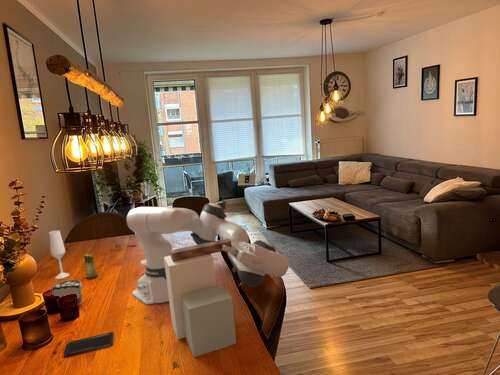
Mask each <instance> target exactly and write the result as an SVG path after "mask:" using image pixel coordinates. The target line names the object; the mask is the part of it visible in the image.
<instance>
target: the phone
mask: <svg viewBox="0 0 500 375" xmlns="http://www.w3.org/2000/svg"><path fill="white" fill-rule="evenodd" d="M114 333H115V332H111V331H110V332H107V333H101V334H98V335H93V336H89V337H86V338H80V339H77V340H72V341H69V342H67V343H66V345H65V349H64V352H63V357H64V358H68V357H72V356H76V355H81V354H85V353H89V352H93V351H97V350H101V349H104V348H108V347H112V346H113V345H114V336H115V334H114Z"/></svg>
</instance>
